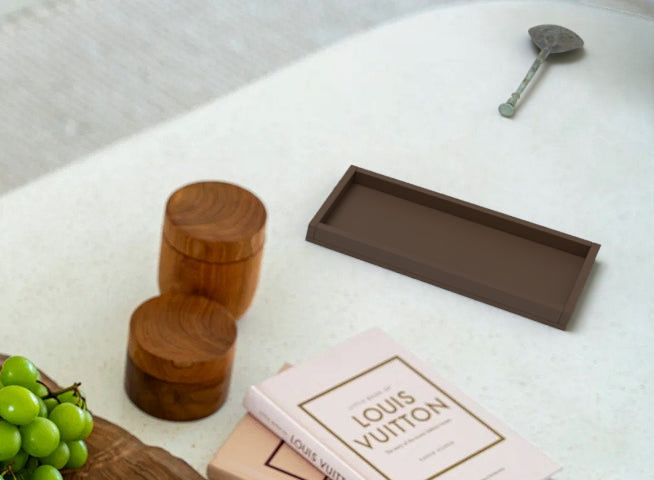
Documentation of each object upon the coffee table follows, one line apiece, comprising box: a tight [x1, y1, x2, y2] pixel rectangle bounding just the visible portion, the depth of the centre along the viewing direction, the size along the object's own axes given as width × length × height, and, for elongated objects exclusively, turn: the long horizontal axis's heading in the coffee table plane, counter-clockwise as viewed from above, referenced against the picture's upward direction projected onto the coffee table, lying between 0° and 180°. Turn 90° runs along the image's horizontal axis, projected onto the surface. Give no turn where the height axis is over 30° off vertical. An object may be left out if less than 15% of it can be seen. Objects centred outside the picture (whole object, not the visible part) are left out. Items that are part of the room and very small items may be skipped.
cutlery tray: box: [304, 164, 602, 331], centre depth 111 cm, size 25×12×2 cm, turn 59°
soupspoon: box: [497, 23, 585, 117], centre depth 133 cm, size 22×3×7 cm
